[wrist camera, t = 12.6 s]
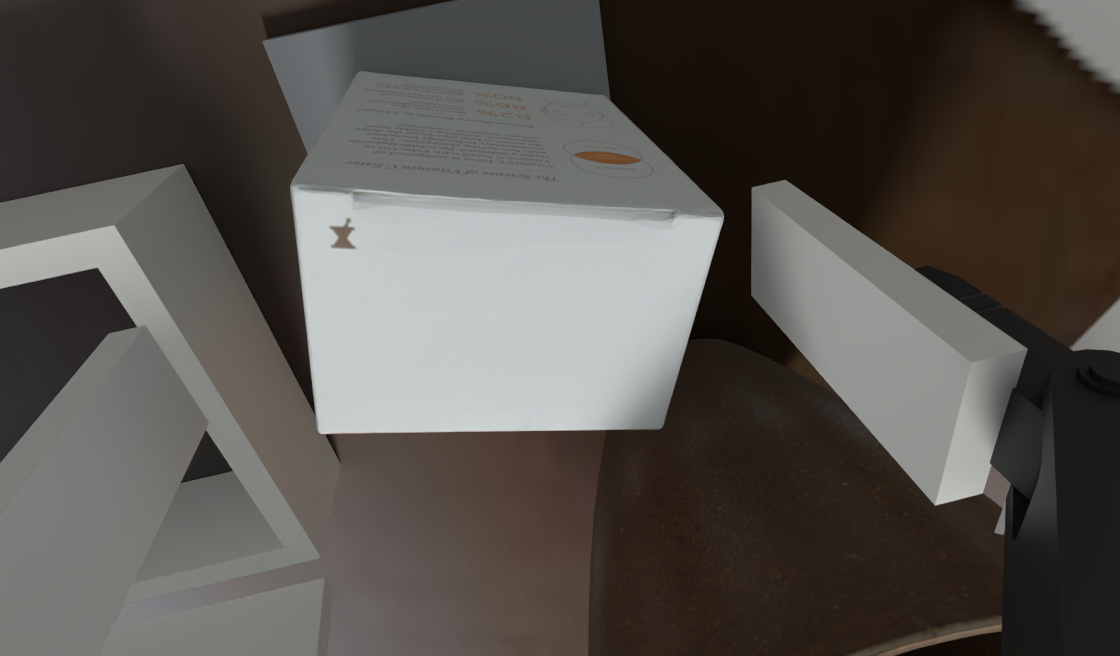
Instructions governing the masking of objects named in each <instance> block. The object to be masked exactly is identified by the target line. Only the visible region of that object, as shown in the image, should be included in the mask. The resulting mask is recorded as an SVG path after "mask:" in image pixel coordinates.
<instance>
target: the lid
mask: <svg viewBox="0 0 1120 656" xmlns="http://www.w3.org/2000/svg"><path fill="white" fill-rule="evenodd" d="M332 591H333V586H332V585H331V584H330V583H329V582H328V581H327V580H326V579H325V578H322V579H318V580H314V581H309V582H305V583H301V584H297V585H293V586H288V587H284V588H280V589H276V590H271V591H267V592H263V593H259V594H255V595H250V596H246V597H242V598H238V599H233V600H229V601H225V602H221V603H217V604H212V605H208V606H204V607H200V608H196V609H191V610H187V611H183V612H179V613H174V614H170V615H166V616H162V617H158V618H153V619H149V620H145V621H141V622H136V623H132V624H128V625H124V626H120V627H115V628H112V629H111V631H110V633H109V635H108V637H107V639H106V641H105V643H104V646H103V648H102V650H101V652H100V654H99V656H327V646H328V635H329V624H330V613H331V602H332Z"/></svg>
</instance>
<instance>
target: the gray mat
mask: <svg viewBox="0 0 1120 656" xmlns="http://www.w3.org/2000/svg"><path fill="white" fill-rule="evenodd" d="M262 42H263V44H264V47H265V49H266V52H267V54H268V57H269V59H270V62H271V64H272V67H273V69H274V72H275V74H276V77H277V79H278V82H279V84H280V86H281V89H282V91H283V94H284V96H285V99H286V101H287V104H288V106H289V109H290V111H291V114H292V116H293V119H294V121H295V124H296V126H297V129H298V131H299V134H300V136H301V139H302V141H303V144H304V146H305V149H306V151H307V153H309V151H310V150H311V148H312V147H313V145H314V144H315V142H316V140H317V138H318V137H319V135H320V134H321V132H322V131H323V129H324V127H325V126H326V124H327V123H328V121H329V119H330V118H331V116H332V115H333V113H334V111H335V109H336V108H337V106H338V105H339V103H340V101H341V99H342V98H343V96H344V94H345V92H346V91H347V89H348V87H349V86H350V84H351V82H352V81H353V79H354V77H355V75H356V74H357V73H358V72H359V71H366V72H373V73H381V74H391V75H400V76H410V77H420V78H430V79H442V80H452V81H462V82H472V83H481V84H491V85H502V86H513V87H523V88H533V89H543V90H553V91H563V92H574V93H584V94H596V95H604V96H606V97H607V98H608V99H609V100H610V92H609V83H608V75H607V66H606V57H605V49H604V40H603V32H602V23H601V15H600V6H599V0H452V1H447V2H442V3H438V4H433V5H428V6H423V7H418V8H413V9H408V10H404V11H399V12H394V13H389V14H384V15H379V16H375V17H370V18H365V19H360V20H355V21H350V22H345V23H341V24H336V25H331V26H326V27H321V28H316V29H312V30H307V31H302V32H297V33H292V34H287V35H282V36H278V37H273V38H268V39H265V40H264V41H262ZM610 101H611V100H610Z"/></svg>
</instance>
